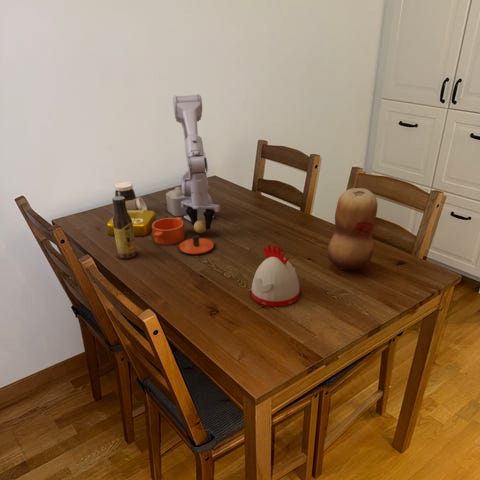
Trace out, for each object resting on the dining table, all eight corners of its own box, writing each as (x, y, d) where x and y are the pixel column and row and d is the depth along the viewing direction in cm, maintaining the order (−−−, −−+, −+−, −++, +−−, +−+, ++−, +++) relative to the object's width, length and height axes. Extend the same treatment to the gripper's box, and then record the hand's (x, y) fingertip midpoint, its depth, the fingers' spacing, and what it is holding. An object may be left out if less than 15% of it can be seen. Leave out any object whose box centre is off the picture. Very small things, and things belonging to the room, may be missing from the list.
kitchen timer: (270, 277, 146) (271, 232, 137) (308, 291, 138) (311, 244, 130) (241, 296, 137) (240, 248, 128) (280, 311, 129) (282, 262, 121)
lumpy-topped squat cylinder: (165, 209, 195) (162, 188, 190) (192, 202, 201) (191, 182, 196) (176, 217, 188) (174, 196, 183) (204, 210, 193) (203, 189, 189)
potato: (200, 226, 176) (199, 215, 174) (211, 228, 175) (211, 216, 172) (192, 234, 171) (191, 222, 169) (203, 236, 170) (202, 224, 167)
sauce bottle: (132, 260, 158) (123, 202, 146) (115, 258, 159) (104, 201, 147) (140, 251, 163) (131, 195, 152) (123, 250, 164) (113, 194, 153)
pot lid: (219, 243, 167) (218, 231, 164) (204, 258, 157) (203, 245, 155) (189, 238, 171) (188, 227, 168) (172, 252, 161) (171, 240, 159)
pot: (193, 231, 176) (192, 217, 173) (171, 249, 163) (169, 235, 160) (167, 227, 180) (165, 213, 177) (143, 245, 167) (141, 230, 164)
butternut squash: (337, 281, 143) (346, 201, 128) (319, 262, 153) (325, 186, 139) (379, 274, 145) (391, 195, 131) (358, 256, 156) (368, 181, 142)
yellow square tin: (157, 220, 185) (155, 208, 183) (147, 236, 173) (145, 224, 170) (120, 219, 187) (117, 208, 184) (107, 235, 174) (105, 223, 172)
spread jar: (115, 210, 195) (110, 182, 189) (142, 205, 199) (138, 178, 193) (122, 220, 186) (117, 191, 180) (150, 215, 190) (146, 186, 184)
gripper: (175, 192, 164) (179, 229, 172) (213, 197, 159) (215, 234, 167) (184, 186, 169) (188, 222, 177) (221, 190, 165) (223, 227, 172)
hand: (201, 227), depth 172 cm, fingers closed on potato, 4 cm apart
